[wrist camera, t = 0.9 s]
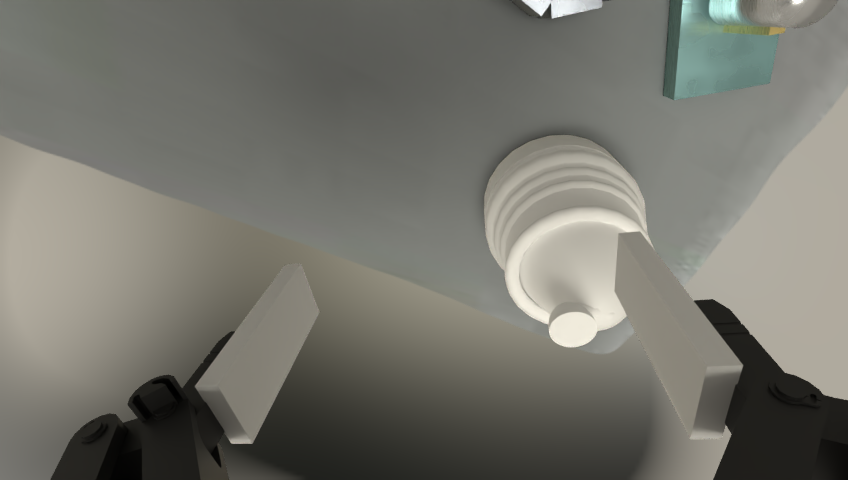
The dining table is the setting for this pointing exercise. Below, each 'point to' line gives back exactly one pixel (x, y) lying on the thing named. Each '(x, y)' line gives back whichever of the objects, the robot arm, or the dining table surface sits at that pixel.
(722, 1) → the teal two-tone fixture
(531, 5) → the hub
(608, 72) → the dining table surface
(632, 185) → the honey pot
